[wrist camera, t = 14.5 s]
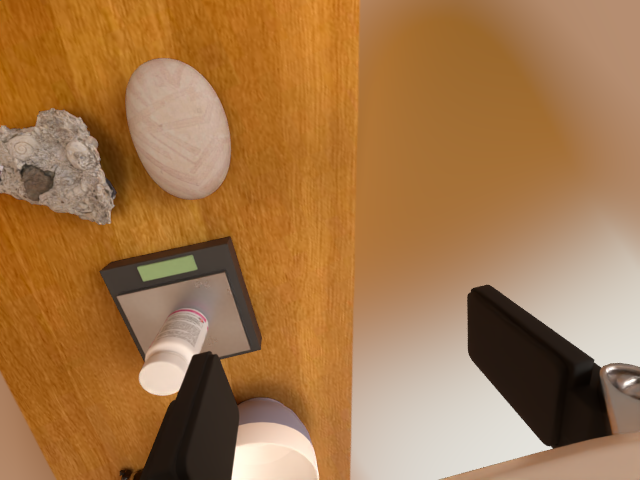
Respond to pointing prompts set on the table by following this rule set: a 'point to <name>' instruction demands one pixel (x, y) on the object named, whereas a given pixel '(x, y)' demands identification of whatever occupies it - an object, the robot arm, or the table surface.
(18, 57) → the table surface
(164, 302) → the scale pan
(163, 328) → the pill bottle
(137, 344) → the scale
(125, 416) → the table surface
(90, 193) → the mineral specimen
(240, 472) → the bowl
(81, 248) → the table surface
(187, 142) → the decorative stone
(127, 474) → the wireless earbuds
